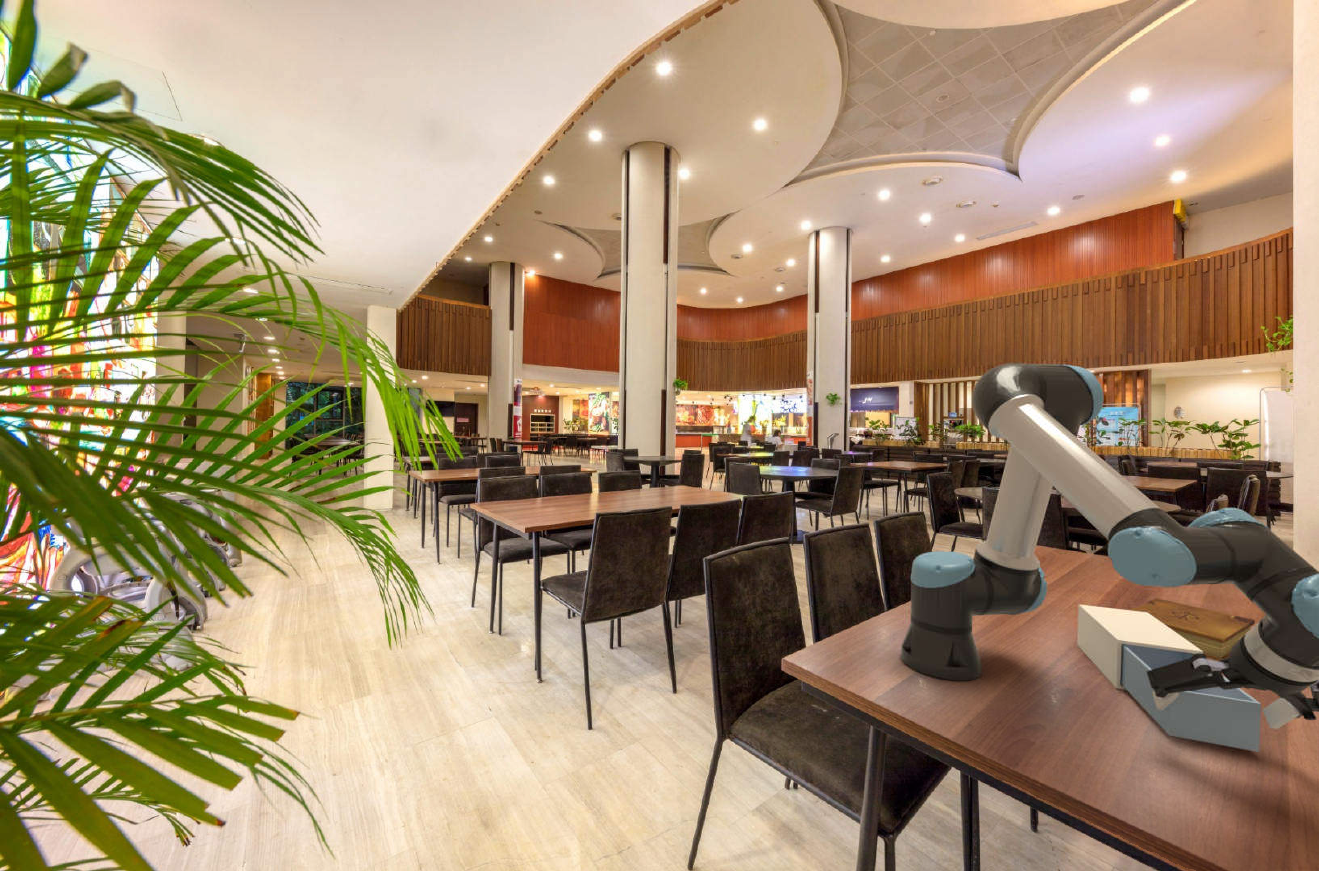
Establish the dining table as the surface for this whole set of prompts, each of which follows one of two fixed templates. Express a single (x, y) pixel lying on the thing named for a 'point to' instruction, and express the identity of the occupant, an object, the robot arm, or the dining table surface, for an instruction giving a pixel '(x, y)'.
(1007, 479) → the robot arm
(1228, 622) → the diary
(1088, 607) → the mailer sleeve
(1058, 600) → the dining table surface
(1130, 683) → the tray
